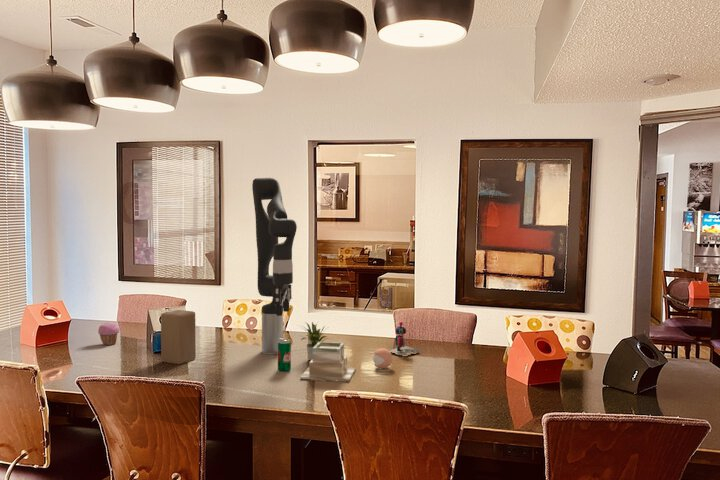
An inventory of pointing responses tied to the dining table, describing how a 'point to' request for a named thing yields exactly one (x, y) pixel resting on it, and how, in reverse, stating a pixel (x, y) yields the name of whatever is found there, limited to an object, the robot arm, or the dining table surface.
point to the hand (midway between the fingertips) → (282, 313)
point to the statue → (402, 342)
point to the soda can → (284, 355)
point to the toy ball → (382, 358)
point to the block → (178, 336)
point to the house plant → (313, 338)
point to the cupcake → (108, 333)
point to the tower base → (328, 363)
